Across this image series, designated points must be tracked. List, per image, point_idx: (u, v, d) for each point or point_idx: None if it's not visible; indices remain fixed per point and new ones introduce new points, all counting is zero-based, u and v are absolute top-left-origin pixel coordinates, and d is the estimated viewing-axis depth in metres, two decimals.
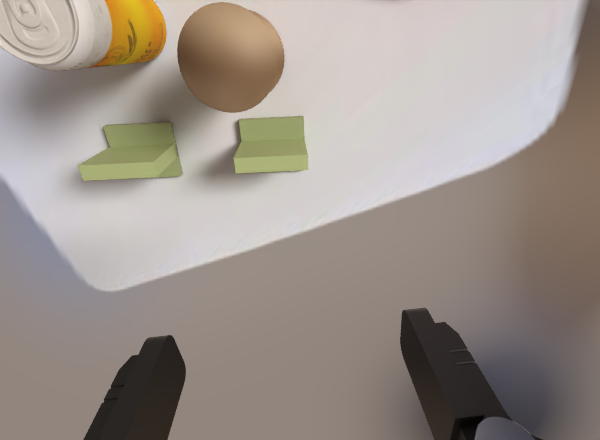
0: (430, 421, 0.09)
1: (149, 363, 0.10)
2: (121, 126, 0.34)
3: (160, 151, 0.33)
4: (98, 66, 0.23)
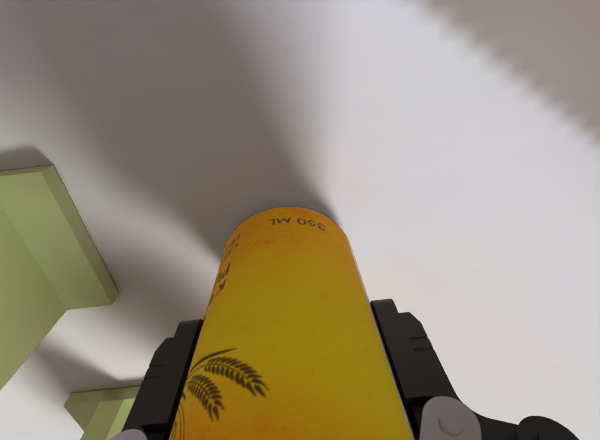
0: None
1: (185, 344, 0.10)
2: (61, 215, 0.13)
3: (22, 347, 0.13)
4: None
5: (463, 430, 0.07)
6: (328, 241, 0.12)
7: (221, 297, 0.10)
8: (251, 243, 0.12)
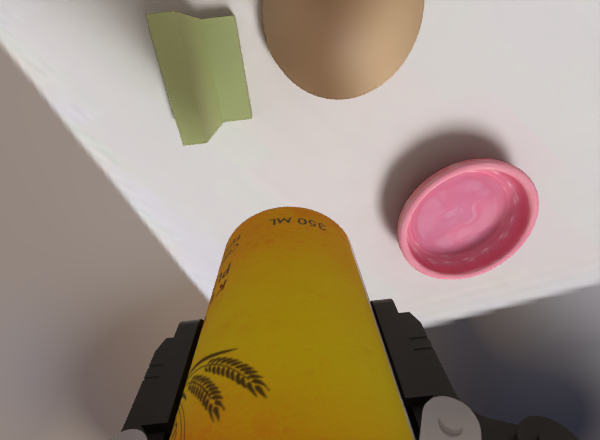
0: None
1: (185, 344, 0.10)
2: None
3: None
4: None
5: (463, 430, 0.07)
6: (329, 241, 0.12)
7: (221, 298, 0.10)
8: (251, 243, 0.12)
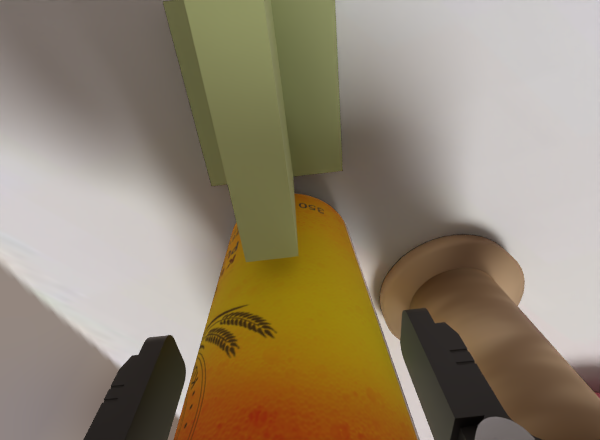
0: (430, 421, 0.09)
1: (149, 363, 0.10)
2: (334, 43, 0.12)
3: (293, 189, 0.12)
4: None
5: None
6: (327, 223, 0.13)
7: (232, 269, 0.11)
8: None
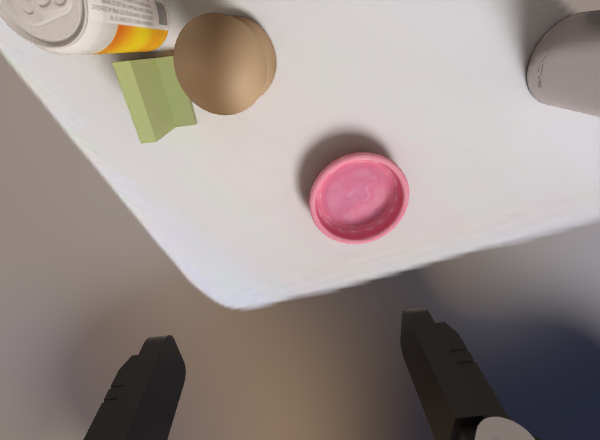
0: (430, 421, 0.09)
1: (149, 363, 0.10)
2: None
3: None
4: None
5: None
6: None
7: None
8: None
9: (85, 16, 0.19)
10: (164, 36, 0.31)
